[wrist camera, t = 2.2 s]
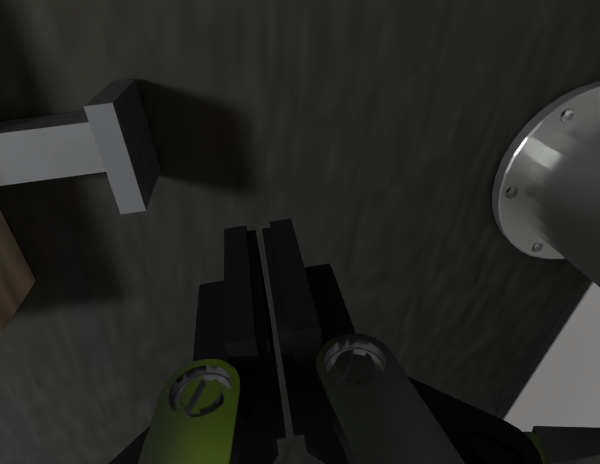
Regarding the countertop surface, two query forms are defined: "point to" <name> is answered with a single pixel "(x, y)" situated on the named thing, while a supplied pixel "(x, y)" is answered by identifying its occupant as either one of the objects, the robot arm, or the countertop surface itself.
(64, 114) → the lynch pin
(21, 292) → the block
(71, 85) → the countertop surface
